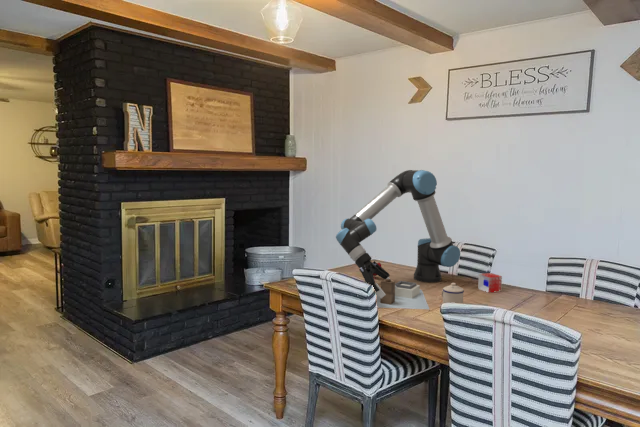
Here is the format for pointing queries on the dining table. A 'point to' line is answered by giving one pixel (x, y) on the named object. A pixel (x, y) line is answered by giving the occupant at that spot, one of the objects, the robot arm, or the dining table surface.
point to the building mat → (406, 302)
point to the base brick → (407, 289)
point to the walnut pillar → (388, 291)
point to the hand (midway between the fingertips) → (389, 293)
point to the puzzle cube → (489, 282)
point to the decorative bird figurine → (376, 274)
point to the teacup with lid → (452, 293)
